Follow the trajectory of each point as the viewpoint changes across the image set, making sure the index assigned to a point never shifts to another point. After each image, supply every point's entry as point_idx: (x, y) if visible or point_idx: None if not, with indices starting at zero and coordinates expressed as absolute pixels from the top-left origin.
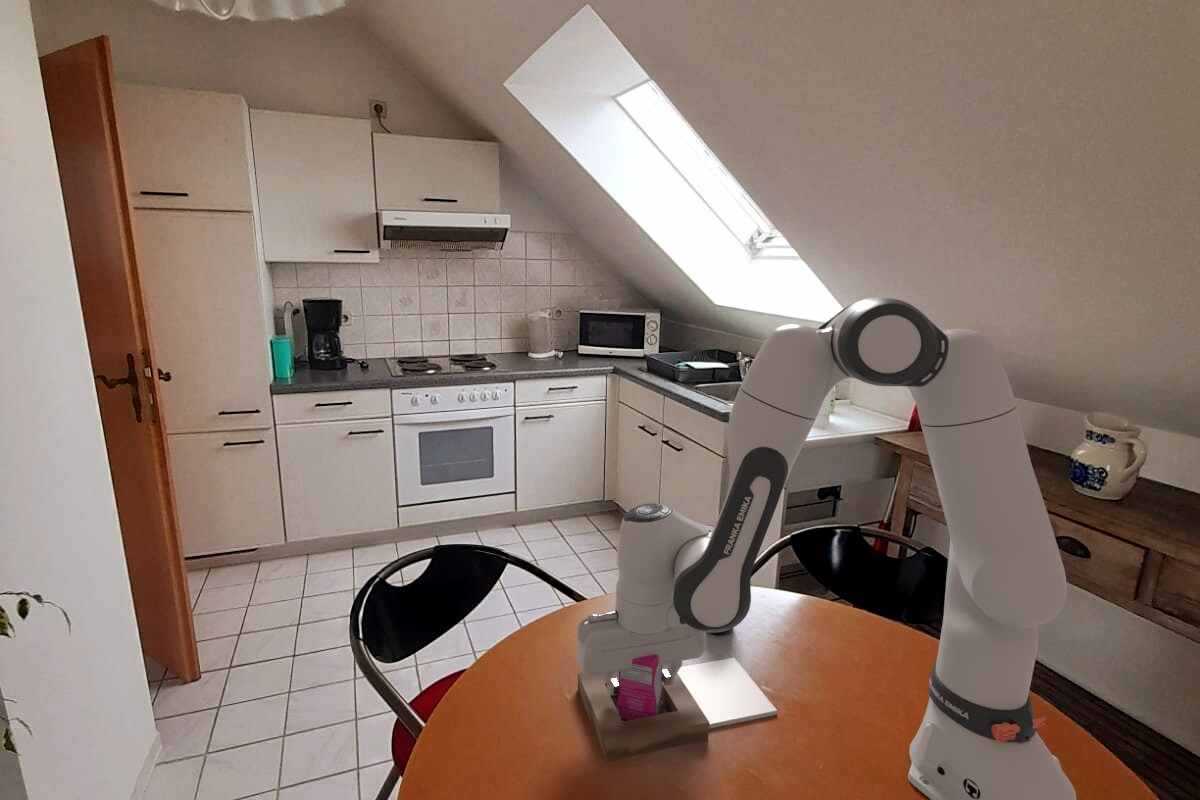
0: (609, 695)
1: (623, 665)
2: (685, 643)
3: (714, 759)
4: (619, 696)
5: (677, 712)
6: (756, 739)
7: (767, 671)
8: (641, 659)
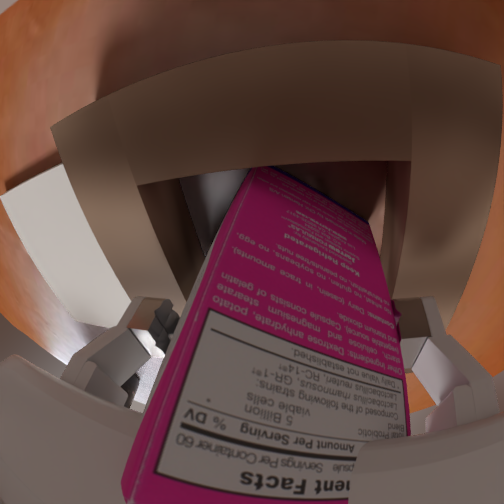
0: None
1: (418, 483)
2: (8, 442)
3: (91, 37)
4: (387, 288)
5: (139, 175)
6: (19, 123)
7: (37, 283)
8: None
